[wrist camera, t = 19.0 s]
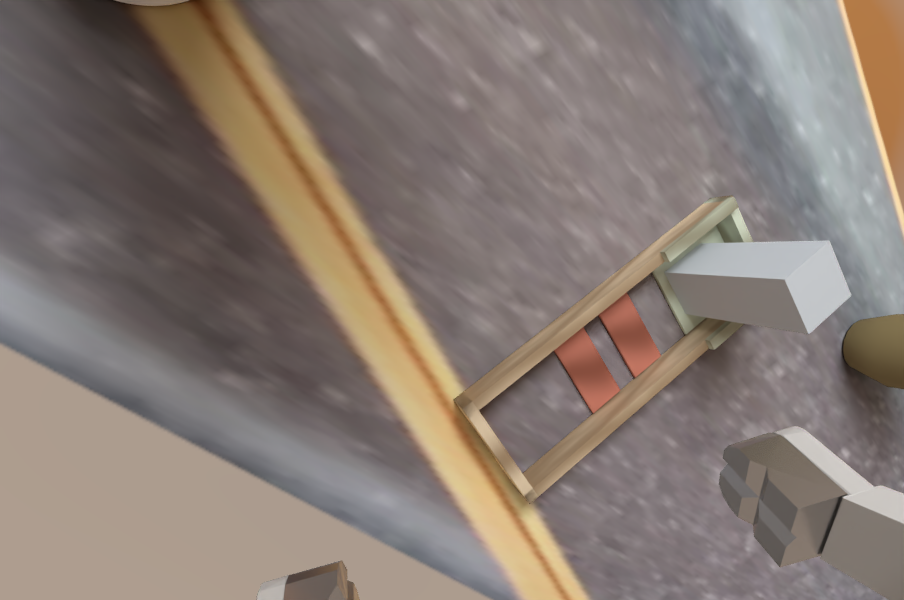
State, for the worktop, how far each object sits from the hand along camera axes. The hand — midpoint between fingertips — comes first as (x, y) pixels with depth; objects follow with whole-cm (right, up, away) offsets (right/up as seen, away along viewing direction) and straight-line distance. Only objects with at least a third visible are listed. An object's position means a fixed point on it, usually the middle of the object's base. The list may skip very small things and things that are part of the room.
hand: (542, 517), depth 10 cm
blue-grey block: (+22, +7, +37) cm, 43 cm away
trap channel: (+14, +1, +35) cm, 38 cm away
